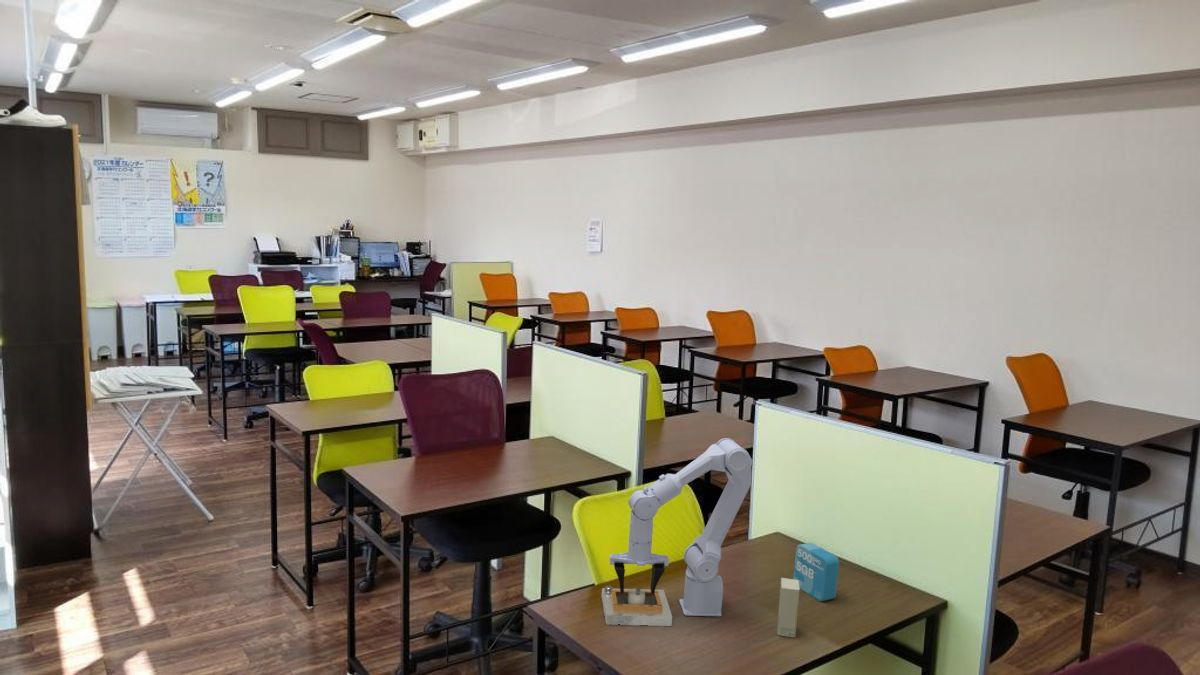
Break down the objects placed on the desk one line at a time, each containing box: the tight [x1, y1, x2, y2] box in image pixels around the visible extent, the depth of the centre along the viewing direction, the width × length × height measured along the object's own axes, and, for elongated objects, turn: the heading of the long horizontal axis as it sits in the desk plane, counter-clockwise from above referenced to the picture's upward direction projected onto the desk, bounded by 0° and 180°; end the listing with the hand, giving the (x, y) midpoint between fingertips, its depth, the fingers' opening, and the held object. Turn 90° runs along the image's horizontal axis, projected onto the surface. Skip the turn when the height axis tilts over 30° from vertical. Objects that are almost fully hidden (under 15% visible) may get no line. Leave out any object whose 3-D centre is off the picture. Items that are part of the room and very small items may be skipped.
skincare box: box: [776, 577, 801, 638], centre depth 196 cm, size 6×4×12 cm
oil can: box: [628, 588, 645, 605], centre depth 201 cm, size 4×4×6 cm
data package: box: [792, 542, 840, 602], centre depth 218 cm, size 12×4×12 cm, turn 27°
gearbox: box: [601, 585, 673, 627], centre depth 202 cm, size 16×14×4 cm
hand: (637, 591), depth 201 cm, fingers open, 7 cm apart
